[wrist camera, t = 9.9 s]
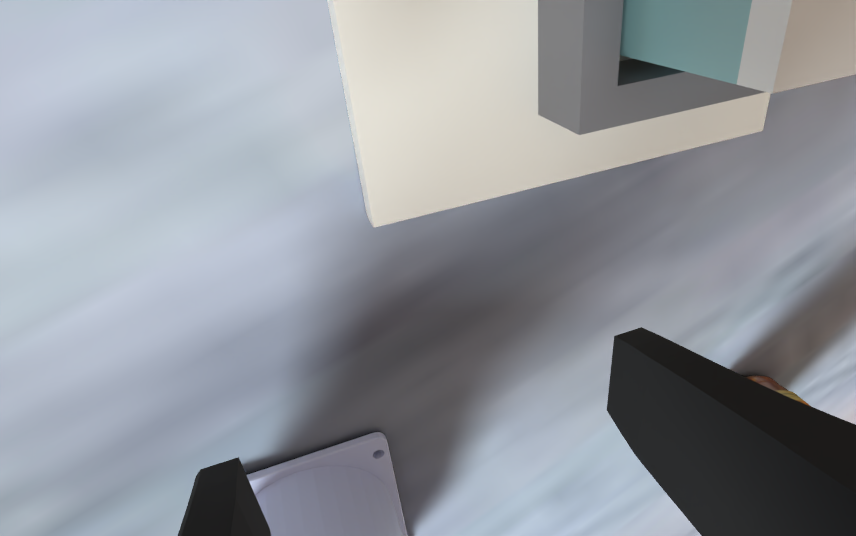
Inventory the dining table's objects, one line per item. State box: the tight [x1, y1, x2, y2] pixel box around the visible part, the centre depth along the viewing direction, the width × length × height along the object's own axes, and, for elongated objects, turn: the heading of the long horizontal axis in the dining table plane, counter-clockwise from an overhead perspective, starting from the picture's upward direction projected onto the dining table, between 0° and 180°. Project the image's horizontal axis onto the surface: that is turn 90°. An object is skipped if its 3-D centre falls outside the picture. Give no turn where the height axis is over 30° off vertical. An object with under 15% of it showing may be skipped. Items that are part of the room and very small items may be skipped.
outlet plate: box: [327, 0, 771, 228], centre depth 17 cm, size 11×16×4 cm
